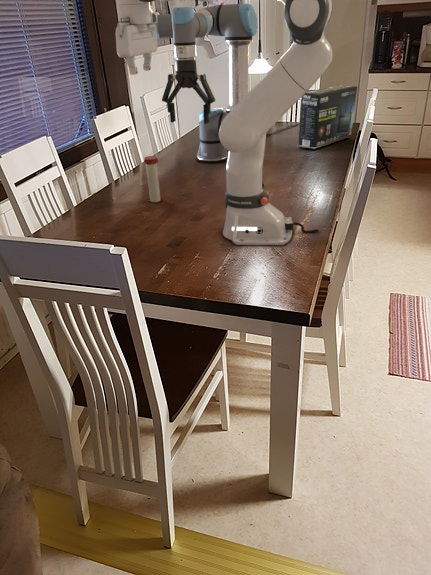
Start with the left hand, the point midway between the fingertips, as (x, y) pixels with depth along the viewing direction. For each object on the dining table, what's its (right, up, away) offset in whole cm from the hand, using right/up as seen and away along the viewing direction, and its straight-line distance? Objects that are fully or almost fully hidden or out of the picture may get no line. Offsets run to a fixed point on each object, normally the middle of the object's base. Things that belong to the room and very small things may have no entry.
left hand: (189, 122), depth 170 cm
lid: (-15, -13, 0) cm, 20 cm away
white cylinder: (-14, -27, +8) cm, 32 cm away
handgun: (+24, -16, +25) cm, 38 cm away
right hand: (-12, +1, -38) cm, 39 cm away
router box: (+68, +16, +74) cm, 102 cm away
